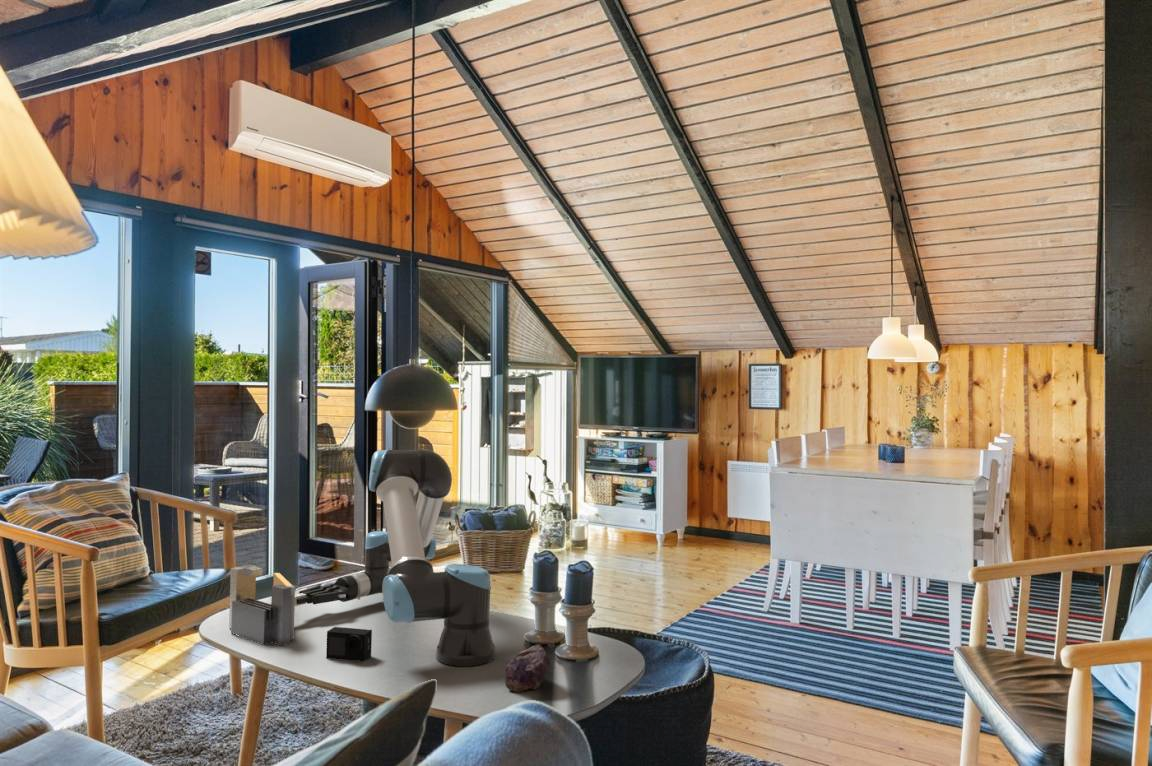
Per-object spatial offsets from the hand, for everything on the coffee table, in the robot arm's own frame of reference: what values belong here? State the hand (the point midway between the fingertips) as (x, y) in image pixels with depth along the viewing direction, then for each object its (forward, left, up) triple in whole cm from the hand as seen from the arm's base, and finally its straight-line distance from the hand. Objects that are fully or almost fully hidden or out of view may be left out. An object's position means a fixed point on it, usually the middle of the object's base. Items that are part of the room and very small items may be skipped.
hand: (284, 602), depth 225 cm
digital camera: (-35, +6, -7) cm, 36 cm away
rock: (-83, -8, -7) cm, 84 cm away
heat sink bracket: (-2, +8, -7) cm, 11 cm away
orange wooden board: (-3, +3, -6) cm, 8 cm away
